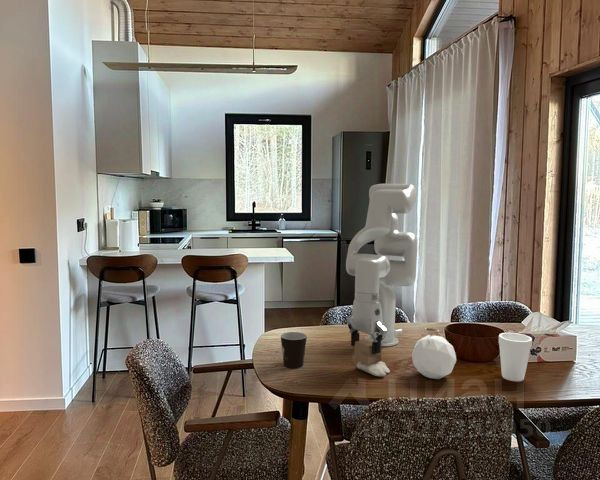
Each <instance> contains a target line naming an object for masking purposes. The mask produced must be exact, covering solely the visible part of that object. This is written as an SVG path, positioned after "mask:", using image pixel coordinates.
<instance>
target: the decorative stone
mask: <svg viewBox="0 0 600 480" xmlns="http://www.w3.org/2000/svg"><path fill="white" fill-rule="evenodd" d="M357 362H358V363H356V368H357V369H359V370H361V371H364V372H365V373H367V374H370V375H373V376H374V377H384V376H386V375H388V374H389V373H391V370H390V368H388V366H387V364H386V363H385V362H384V361H382V360H381V361H380V362H377V363H373V364H370V365H366V364H364V363H361V362H359V361H357Z"/></svg>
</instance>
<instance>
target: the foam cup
mask: <svg viewBox="0 0 600 480" xmlns="http://www.w3.org/2000/svg"><path fill="white" fill-rule="evenodd" d="M532 344H533V337H531V336H528V335H526V334H524V333H520V332H518V333H517V332H502V333H499V335H498V345H499V354H500V355H499V356H500V368H501V376H502V378H503V379H505V380H507V381H511V382H522V381H524V379H525V375H526V372H527V367H528V362H529V356H530V354H531V353H530V352H531V348H532V347H533V346H532Z"/></svg>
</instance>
